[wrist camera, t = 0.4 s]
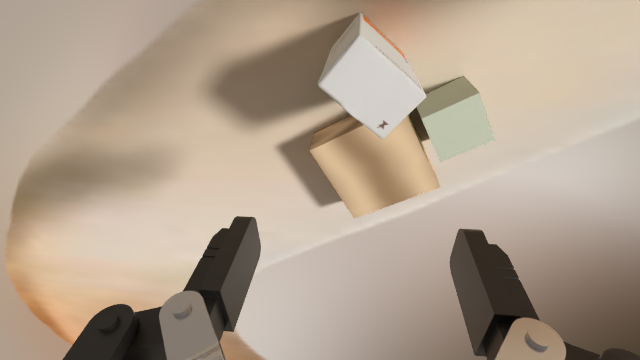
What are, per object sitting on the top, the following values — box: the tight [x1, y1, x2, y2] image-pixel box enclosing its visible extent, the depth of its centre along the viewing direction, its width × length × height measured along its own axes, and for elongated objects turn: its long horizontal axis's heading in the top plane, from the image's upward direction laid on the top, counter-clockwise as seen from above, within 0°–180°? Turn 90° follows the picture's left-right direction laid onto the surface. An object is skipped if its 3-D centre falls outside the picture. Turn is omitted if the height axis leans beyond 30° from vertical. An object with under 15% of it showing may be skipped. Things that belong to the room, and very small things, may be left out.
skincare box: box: [318, 12, 426, 139], centre depth 25 cm, size 6×4×12 cm
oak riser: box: [310, 114, 440, 218], centre depth 34 cm, size 10×10×4 cm
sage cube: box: [417, 76, 495, 162], centre depth 31 cm, size 5×5×5 cm
